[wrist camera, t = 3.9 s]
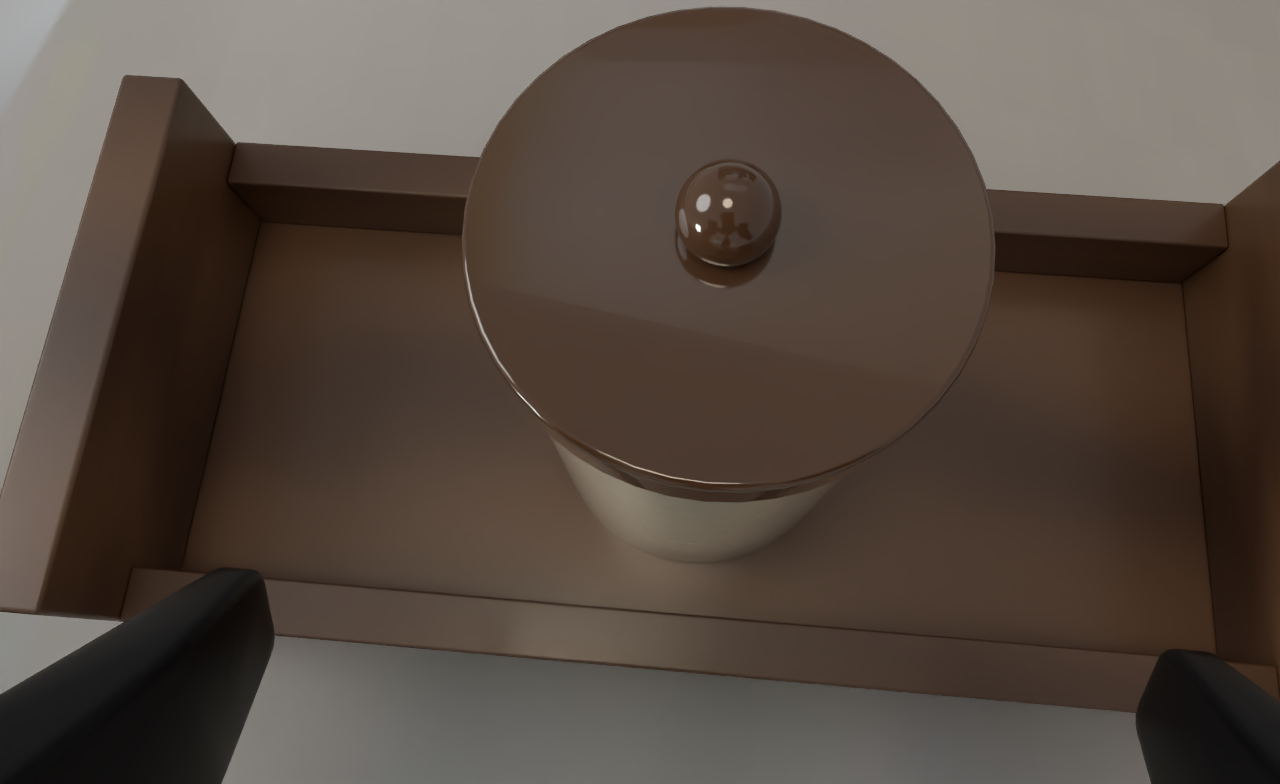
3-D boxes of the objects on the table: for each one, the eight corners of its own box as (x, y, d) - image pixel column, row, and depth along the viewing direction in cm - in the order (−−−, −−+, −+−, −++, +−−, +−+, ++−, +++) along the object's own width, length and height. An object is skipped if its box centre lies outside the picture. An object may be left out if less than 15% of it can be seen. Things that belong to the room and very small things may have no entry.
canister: (906, 415, 19) (1148, 167, 9) (709, 639, 18) (764, 610, 8) (687, 236, 20) (707, -138, 11) (491, 433, 19) (321, 204, 10)
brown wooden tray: (1210, 718, 19) (1468, 743, 13) (176, 624, 21) (-37, 608, 14) (1171, 291, 22) (1367, 146, 16) (265, 229, 23) (121, 73, 17)
